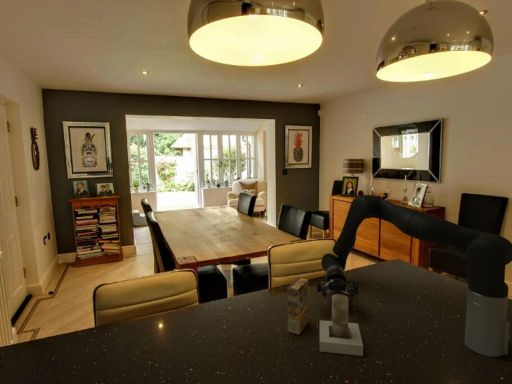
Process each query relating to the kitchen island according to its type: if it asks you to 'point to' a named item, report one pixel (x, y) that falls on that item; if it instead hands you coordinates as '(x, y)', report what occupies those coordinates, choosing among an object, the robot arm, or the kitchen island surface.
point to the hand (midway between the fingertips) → (338, 295)
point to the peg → (340, 316)
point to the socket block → (340, 340)
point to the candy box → (297, 305)
